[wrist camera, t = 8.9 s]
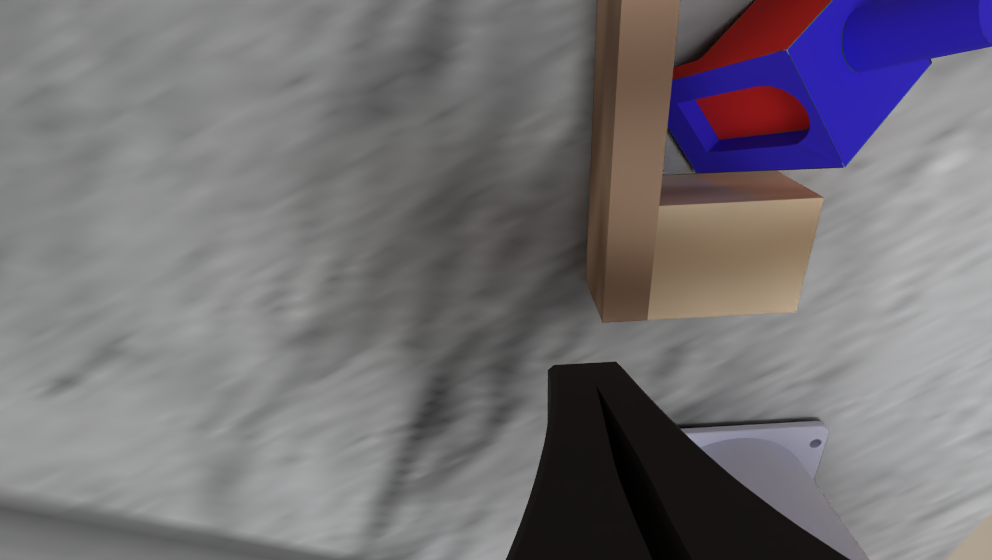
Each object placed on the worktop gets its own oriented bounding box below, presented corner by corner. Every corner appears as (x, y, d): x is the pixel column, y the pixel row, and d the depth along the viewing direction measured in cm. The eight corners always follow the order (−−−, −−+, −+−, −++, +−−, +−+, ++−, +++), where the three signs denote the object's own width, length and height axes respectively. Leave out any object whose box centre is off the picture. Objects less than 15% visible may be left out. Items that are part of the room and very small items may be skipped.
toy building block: (768, 94, 19) (1072, 36, 12) (695, 174, 19) (973, 163, 11) (722, 6, 18) (1033, -119, 11) (642, 89, 17) (919, 14, 10)
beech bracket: (754, 272, 21) (795, 311, 18) (585, 281, 21) (602, 322, 18) (859, -250, 14) (949, -308, 11) (607, -240, 14) (639, -297, 11)
